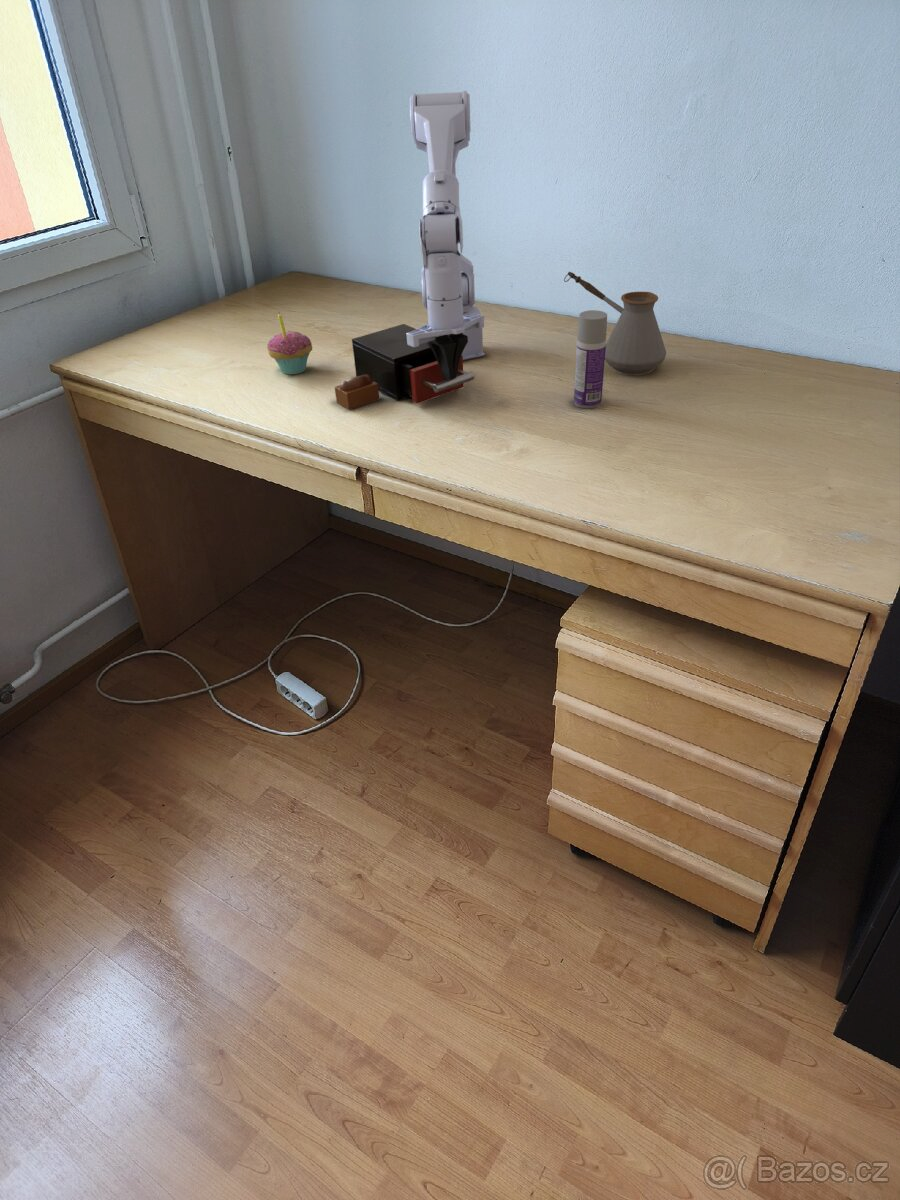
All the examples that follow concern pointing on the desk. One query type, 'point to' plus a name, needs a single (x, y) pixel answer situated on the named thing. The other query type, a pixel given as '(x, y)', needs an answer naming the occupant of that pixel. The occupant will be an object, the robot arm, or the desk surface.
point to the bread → (357, 392)
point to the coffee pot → (632, 332)
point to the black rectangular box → (385, 357)
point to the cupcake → (290, 350)
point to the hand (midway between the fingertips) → (448, 378)
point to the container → (590, 359)
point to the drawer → (428, 378)
